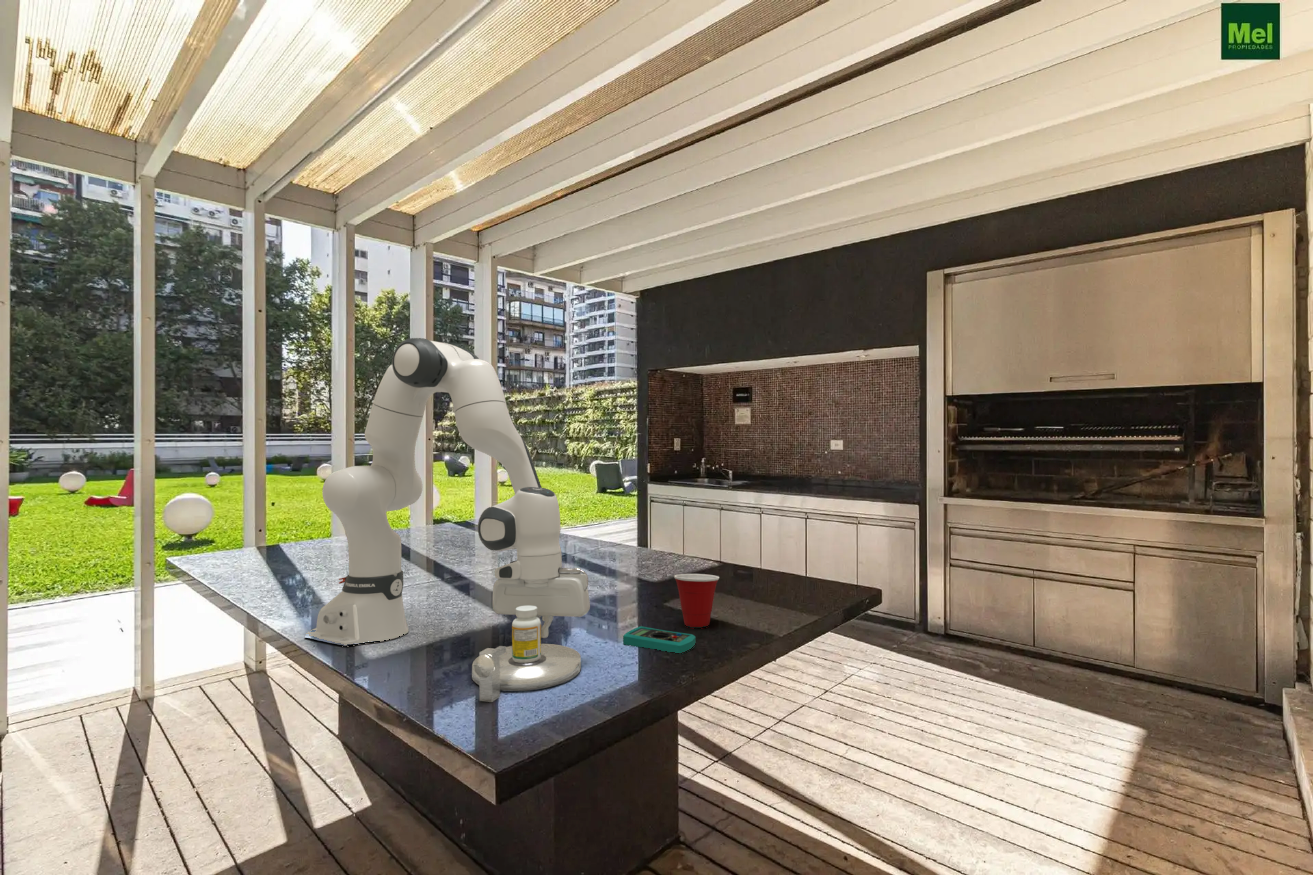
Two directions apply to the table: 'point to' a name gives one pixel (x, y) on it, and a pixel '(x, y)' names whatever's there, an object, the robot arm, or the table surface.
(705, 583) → the plastic cup
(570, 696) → the table surface
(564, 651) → the turntable
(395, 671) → the table surface
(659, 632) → the digital multimeter
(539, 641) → the supplement bottle
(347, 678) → the table surface
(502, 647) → the stand
